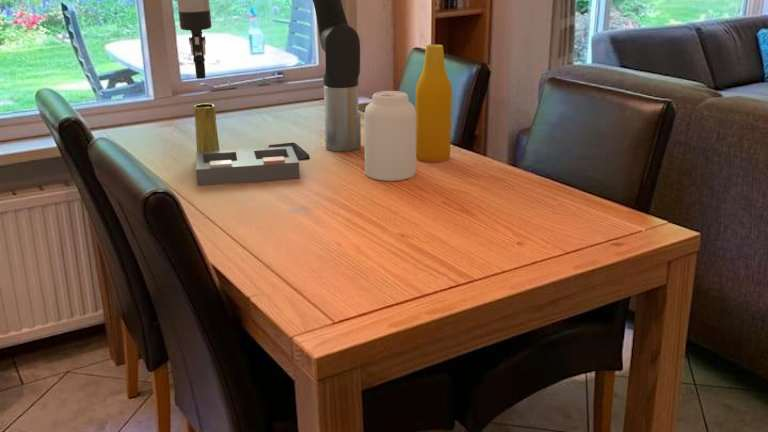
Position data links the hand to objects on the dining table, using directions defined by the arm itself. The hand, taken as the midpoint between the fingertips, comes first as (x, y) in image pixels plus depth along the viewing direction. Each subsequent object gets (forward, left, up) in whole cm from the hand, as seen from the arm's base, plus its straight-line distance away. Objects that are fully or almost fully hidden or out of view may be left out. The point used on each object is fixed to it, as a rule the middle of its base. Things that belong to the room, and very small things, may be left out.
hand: (201, 75), depth 193 cm
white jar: (-43, +24, -22) cm, 54 cm away
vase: (0, 0, -22) cm, 22 cm away
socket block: (-9, +15, -22) cm, 28 cm away
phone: (-21, -1, -23) cm, 31 cm away
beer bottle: (-57, +13, -22) cm, 63 cm away
